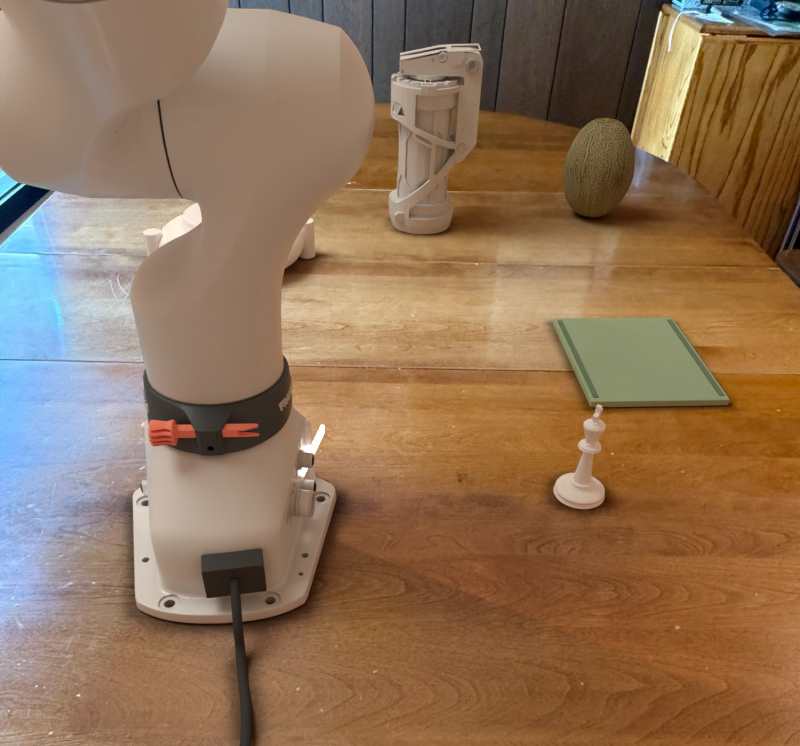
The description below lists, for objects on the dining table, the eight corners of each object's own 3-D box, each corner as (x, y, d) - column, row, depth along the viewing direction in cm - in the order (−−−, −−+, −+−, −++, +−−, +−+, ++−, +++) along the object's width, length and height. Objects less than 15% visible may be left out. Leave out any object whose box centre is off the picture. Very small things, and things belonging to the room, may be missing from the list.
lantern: (388, 234, 122) (391, 51, 106) (388, 210, 130) (391, 36, 113) (469, 236, 123) (486, 54, 106) (465, 212, 131) (479, 39, 114)
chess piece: (546, 499, 75) (563, 411, 68) (562, 472, 78) (581, 385, 71) (595, 515, 73) (618, 427, 66) (610, 487, 76) (633, 400, 70)
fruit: (636, 223, 129) (659, 125, 119) (578, 230, 126) (597, 130, 116) (599, 199, 137) (618, 106, 127) (544, 206, 134) (558, 110, 124)
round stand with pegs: (153, 305, 102) (142, 252, 97) (146, 236, 119) (137, 188, 114) (331, 289, 107) (329, 237, 103) (301, 225, 124) (298, 178, 120)
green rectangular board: (728, 405, 88) (730, 398, 87) (590, 407, 87) (591, 400, 86) (670, 322, 103) (672, 316, 102) (552, 323, 102) (553, 317, 101)
